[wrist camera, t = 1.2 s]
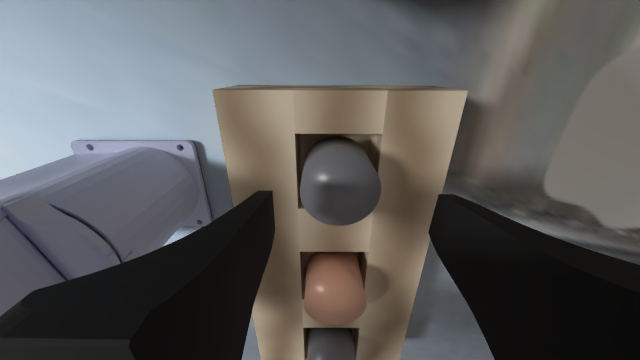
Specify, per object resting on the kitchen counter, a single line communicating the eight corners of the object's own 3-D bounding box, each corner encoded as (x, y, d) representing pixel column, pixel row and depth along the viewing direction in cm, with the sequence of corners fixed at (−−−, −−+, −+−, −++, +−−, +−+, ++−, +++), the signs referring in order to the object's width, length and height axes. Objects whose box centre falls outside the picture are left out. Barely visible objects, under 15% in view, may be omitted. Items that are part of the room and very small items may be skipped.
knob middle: (307, 285, 21) (304, 325, 17) (306, 246, 19) (303, 282, 16) (356, 285, 21) (363, 325, 17) (360, 246, 19) (369, 282, 16)
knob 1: (304, 196, 17) (301, 225, 14) (302, 136, 15) (298, 153, 12) (365, 196, 17) (376, 226, 14) (371, 136, 15) (385, 153, 12)
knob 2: (308, 347, 24) (307, 388, 21) (308, 320, 23) (306, 360, 19) (350, 347, 24) (355, 388, 21) (353, 319, 23) (359, 360, 19)
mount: (271, 330, 29) (263, 373, 25) (238, 85, 17) (212, 89, 13) (385, 330, 29) (395, 373, 25) (432, 85, 17) (467, 90, 13)
